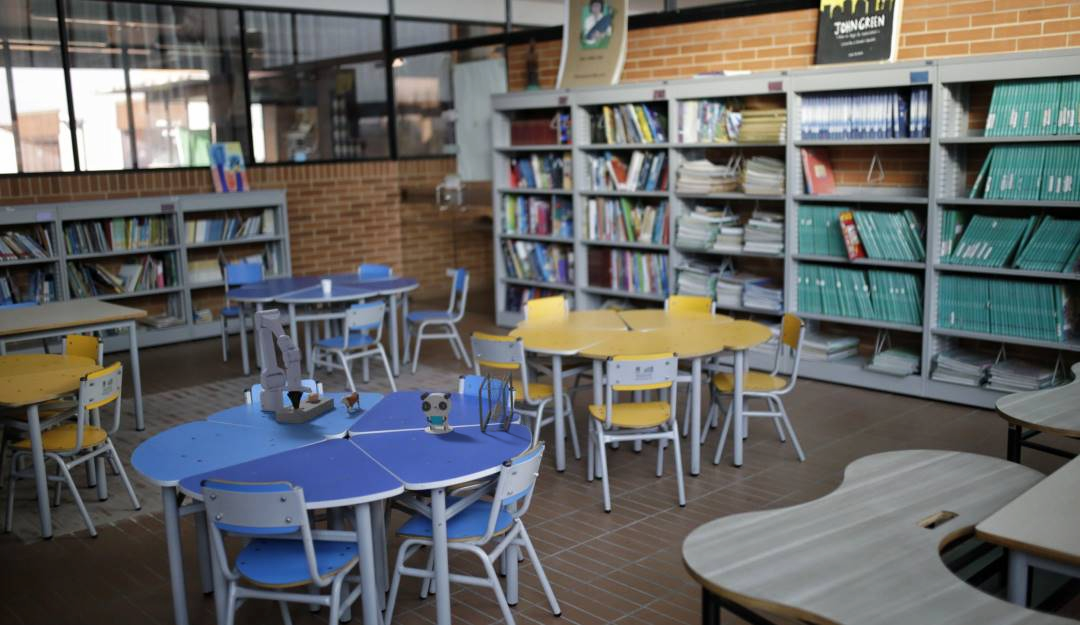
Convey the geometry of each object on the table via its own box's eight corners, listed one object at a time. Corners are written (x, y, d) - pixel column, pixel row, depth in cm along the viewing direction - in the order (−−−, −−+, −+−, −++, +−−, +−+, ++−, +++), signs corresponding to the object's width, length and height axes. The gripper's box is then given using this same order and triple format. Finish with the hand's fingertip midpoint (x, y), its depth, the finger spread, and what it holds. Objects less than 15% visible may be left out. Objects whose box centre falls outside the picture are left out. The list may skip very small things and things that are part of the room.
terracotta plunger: (306, 403, 416) (305, 395, 416) (312, 400, 420) (311, 392, 420) (315, 403, 415) (314, 396, 414) (320, 401, 419) (320, 393, 418)
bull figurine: (339, 415, 409) (337, 396, 408) (354, 406, 422) (352, 388, 420) (348, 415, 408) (347, 397, 406) (363, 407, 420) (362, 389, 419)
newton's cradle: (506, 432, 377) (504, 388, 374) (480, 433, 377) (478, 389, 374) (513, 411, 406) (512, 370, 403) (489, 411, 407) (487, 370, 404)
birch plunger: (289, 417, 405) (288, 409, 404) (295, 414, 409) (294, 406, 408) (298, 418, 403) (297, 410, 402) (304, 415, 407) (303, 407, 407)
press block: (276, 421, 402) (275, 412, 401) (310, 405, 426) (310, 396, 425) (300, 423, 398) (300, 414, 397) (334, 406, 422) (333, 398, 421)
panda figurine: (419, 433, 379) (416, 396, 377) (428, 425, 390) (426, 389, 388) (447, 434, 377) (445, 397, 374) (457, 426, 387) (455, 390, 385)
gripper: (273, 378, 402) (276, 409, 404) (303, 380, 397) (305, 412, 399) (283, 374, 408) (286, 405, 410) (312, 376, 403) (315, 407, 406)
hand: (296, 408), depth 405 cm, fingers closed, pressing on birch plunger
